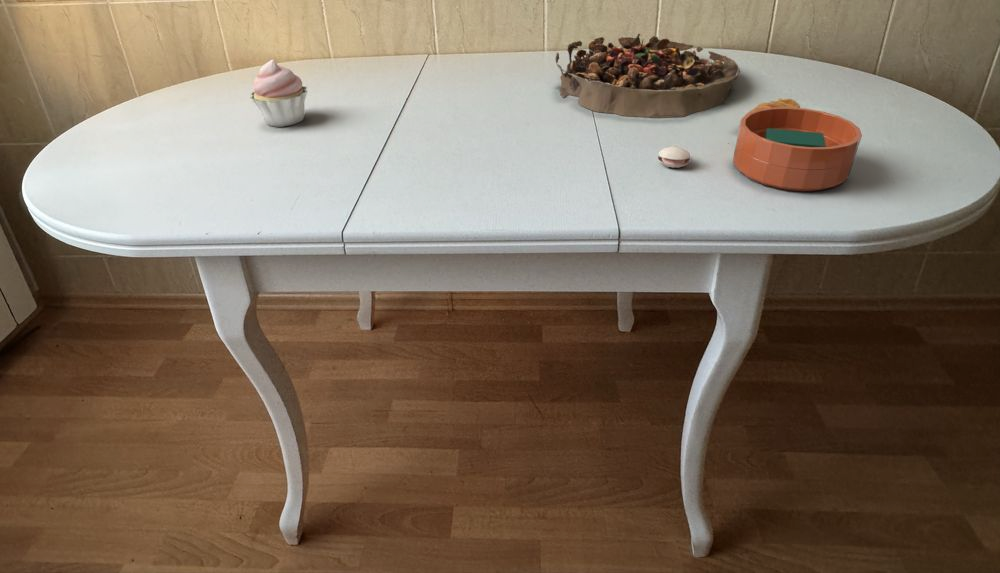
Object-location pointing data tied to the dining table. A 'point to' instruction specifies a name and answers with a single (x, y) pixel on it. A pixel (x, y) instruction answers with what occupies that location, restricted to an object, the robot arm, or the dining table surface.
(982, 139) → the dining table surface
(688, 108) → the food dish
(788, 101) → the pastry
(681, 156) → the macaroon
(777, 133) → the sponge
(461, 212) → the dining table surface
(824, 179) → the bowl
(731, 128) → the dining table surface
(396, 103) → the dining table surface
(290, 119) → the cupcake
